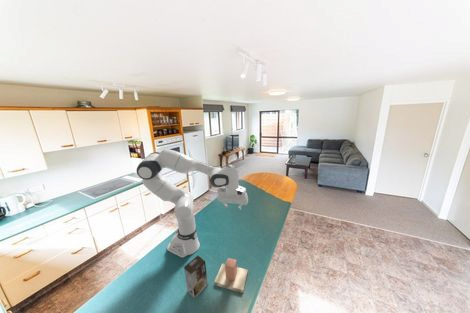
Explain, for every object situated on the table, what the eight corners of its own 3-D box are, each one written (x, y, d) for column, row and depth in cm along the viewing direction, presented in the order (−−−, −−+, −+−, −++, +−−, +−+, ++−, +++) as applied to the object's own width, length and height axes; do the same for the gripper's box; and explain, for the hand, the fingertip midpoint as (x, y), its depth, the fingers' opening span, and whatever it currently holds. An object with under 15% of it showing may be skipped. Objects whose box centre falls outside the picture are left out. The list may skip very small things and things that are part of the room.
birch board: (214, 284, 90) (214, 281, 90) (222, 266, 101) (222, 263, 101) (242, 293, 85) (242, 290, 85) (248, 272, 97) (247, 269, 96)
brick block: (225, 278, 91) (225, 265, 89) (228, 270, 96) (228, 257, 94) (234, 280, 90) (233, 267, 88) (237, 272, 94) (236, 259, 92)
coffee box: (200, 278, 94) (198, 254, 90) (208, 285, 90) (205, 260, 86) (186, 291, 87) (183, 266, 83) (194, 299, 83) (191, 273, 79)
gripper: (215, 189, 107) (216, 208, 110) (246, 193, 101) (246, 213, 104) (219, 185, 113) (220, 204, 116) (248, 188, 107) (248, 207, 110)
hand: (232, 208), depth 110 cm, fingers open, 8 cm apart
